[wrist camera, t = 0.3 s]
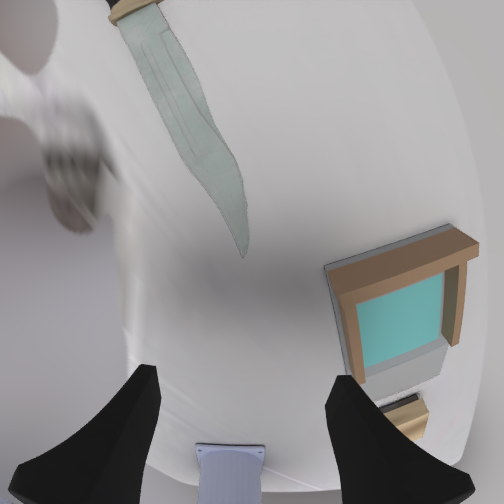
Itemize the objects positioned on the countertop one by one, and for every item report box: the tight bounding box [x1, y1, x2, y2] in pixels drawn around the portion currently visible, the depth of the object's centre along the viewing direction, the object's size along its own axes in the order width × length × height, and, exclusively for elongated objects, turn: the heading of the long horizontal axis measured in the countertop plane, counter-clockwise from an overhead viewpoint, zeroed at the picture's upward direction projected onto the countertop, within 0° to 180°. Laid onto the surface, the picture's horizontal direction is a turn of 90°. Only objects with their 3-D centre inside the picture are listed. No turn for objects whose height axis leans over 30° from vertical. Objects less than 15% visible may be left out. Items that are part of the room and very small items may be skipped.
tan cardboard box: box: [380, 394, 429, 441], centre depth 26 cm, size 6×5×3 cm
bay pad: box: [356, 274, 442, 368], centre depth 21 cm, size 7×8×1 cm
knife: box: [106, 0, 249, 258], centre depth 14 cm, size 27×2×5 cm
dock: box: [324, 224, 479, 402], centre depth 21 cm, size 18×10×5 cm, turn 18°
